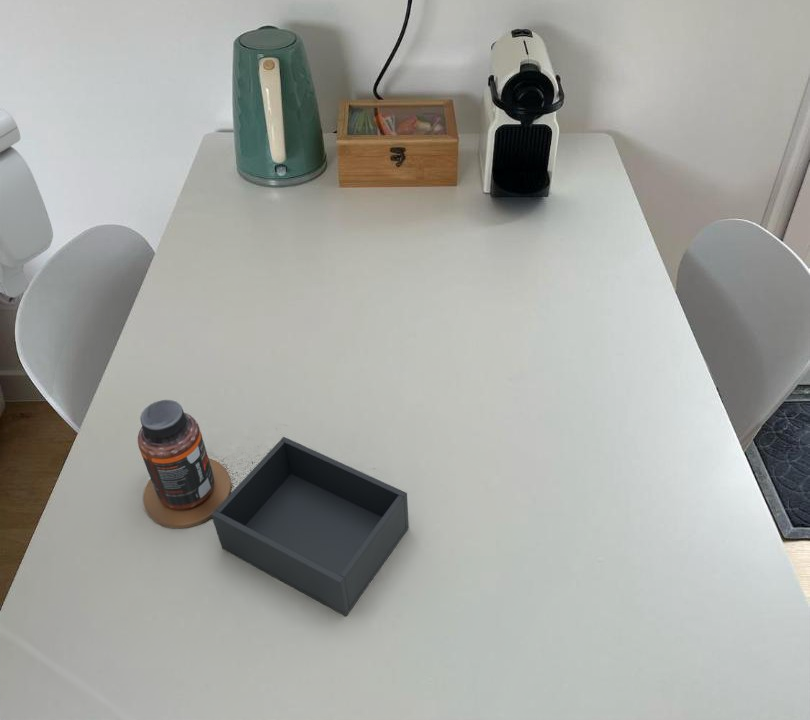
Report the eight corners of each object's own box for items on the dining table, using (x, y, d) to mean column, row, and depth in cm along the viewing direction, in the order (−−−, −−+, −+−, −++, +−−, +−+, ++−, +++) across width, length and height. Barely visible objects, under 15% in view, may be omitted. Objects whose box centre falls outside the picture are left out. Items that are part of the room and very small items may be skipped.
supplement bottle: (225, 494, 84) (203, 419, 76) (171, 522, 81) (142, 447, 74) (201, 458, 87) (178, 383, 80) (149, 483, 85) (120, 409, 77)
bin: (346, 616, 74) (340, 583, 70) (221, 549, 79) (210, 514, 76) (409, 527, 81) (407, 492, 77) (290, 471, 86) (283, 436, 83)
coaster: (191, 542, 80) (190, 538, 80) (126, 506, 84) (124, 502, 83) (249, 480, 86) (248, 476, 85) (185, 448, 89) (184, 444, 89)
